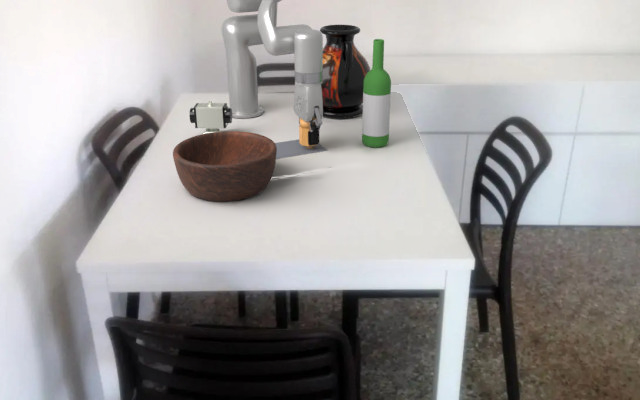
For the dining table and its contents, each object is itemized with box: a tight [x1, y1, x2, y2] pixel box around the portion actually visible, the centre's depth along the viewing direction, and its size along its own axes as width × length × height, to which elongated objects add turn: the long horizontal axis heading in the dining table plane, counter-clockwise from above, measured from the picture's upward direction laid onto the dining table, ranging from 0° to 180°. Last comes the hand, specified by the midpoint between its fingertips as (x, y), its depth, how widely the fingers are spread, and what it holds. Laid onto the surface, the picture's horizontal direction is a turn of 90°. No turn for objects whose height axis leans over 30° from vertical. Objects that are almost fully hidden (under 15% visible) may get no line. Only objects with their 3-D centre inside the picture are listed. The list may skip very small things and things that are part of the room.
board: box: [274, 138, 329, 160], centre depth 179 cm, size 12×18×6 cm, turn 115°
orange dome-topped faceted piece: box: [298, 118, 317, 146], centre depth 178 cm, size 5×5×7 cm
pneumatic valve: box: [189, 100, 233, 134], centre depth 187 cm, size 6×12×12 cm, turn 89°
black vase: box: [319, 24, 371, 120], centre depth 209 cm, size 22×22×28 cm
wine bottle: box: [361, 38, 392, 148], centre depth 180 cm, size 8×8×30 cm
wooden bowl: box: [172, 130, 277, 202], centre depth 157 cm, size 25×25×10 cm
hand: (309, 140), depth 179 cm, fingers closed on orange dome-topped faceted piece, 5 cm apart
